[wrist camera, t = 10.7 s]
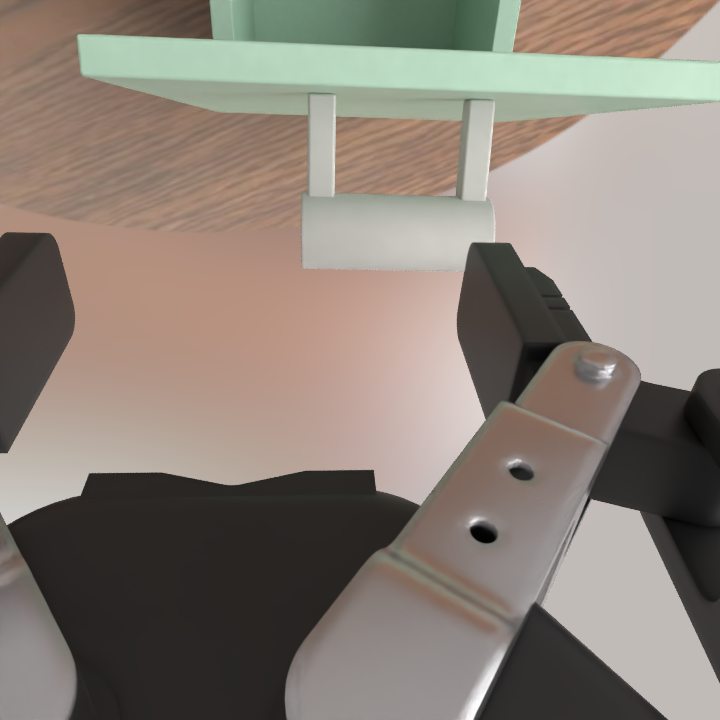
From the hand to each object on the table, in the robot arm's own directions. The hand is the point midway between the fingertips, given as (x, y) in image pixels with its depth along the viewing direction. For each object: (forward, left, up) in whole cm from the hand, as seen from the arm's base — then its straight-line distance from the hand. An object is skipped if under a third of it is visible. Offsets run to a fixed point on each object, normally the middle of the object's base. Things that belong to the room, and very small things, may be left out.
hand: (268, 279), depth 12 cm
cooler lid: (-1, +3, -12) cm, 12 cm away
